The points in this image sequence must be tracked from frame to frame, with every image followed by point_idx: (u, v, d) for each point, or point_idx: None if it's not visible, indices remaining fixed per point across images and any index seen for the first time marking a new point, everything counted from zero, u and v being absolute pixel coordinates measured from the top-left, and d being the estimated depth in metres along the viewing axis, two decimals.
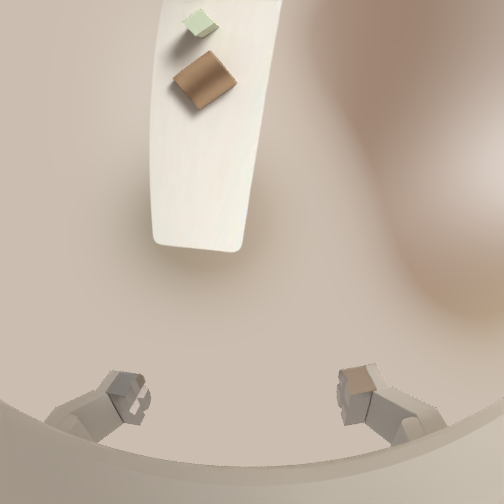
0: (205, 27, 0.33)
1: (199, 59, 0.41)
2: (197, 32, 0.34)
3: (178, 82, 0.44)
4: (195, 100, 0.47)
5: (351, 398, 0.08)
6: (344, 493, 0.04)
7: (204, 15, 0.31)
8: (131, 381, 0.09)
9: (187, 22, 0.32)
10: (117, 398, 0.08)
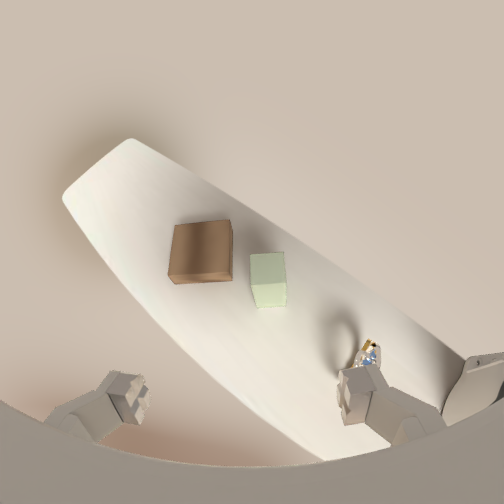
0: (252, 272, 0.31)
1: (226, 256, 0.39)
2: (252, 259, 0.32)
3: (219, 222, 0.42)
4: (186, 226, 0.42)
5: (351, 398, 0.08)
6: (344, 493, 0.04)
7: (271, 280, 0.31)
8: (131, 381, 0.09)
9: (276, 256, 0.32)
10: (117, 398, 0.08)
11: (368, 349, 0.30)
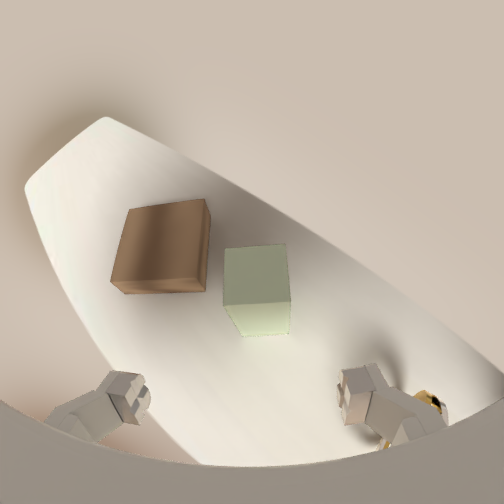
0: (227, 280, 0.17)
1: (194, 253, 0.24)
2: (229, 257, 0.18)
3: (189, 202, 0.28)
4: (143, 210, 0.28)
5: (351, 398, 0.08)
6: (344, 493, 0.04)
7: (262, 297, 0.16)
8: (131, 381, 0.09)
9: (273, 251, 0.18)
10: (117, 398, 0.08)
11: None
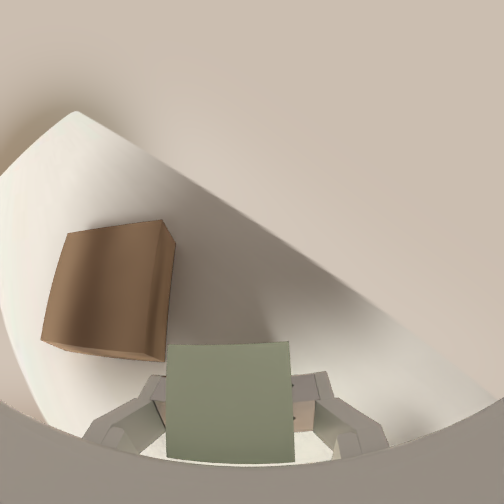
0: (172, 412, 0.07)
1: (142, 311, 0.14)
2: (175, 365, 0.08)
3: (141, 226, 0.18)
4: (83, 236, 0.18)
5: (293, 405, 0.08)
6: (344, 493, 0.04)
7: (239, 454, 0.06)
8: None
9: (262, 359, 0.08)
10: (164, 405, 0.08)
11: None
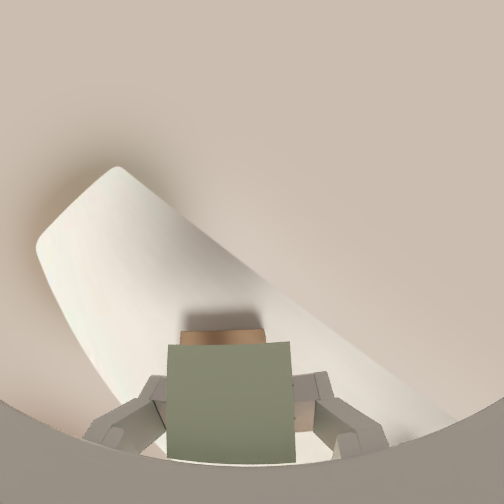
0: (173, 413, 0.07)
1: None
2: (176, 365, 0.08)
3: (248, 332, 0.27)
4: (198, 336, 0.28)
5: None
6: (344, 493, 0.04)
7: (240, 454, 0.06)
8: None
9: (263, 359, 0.08)
10: (164, 405, 0.08)
11: None
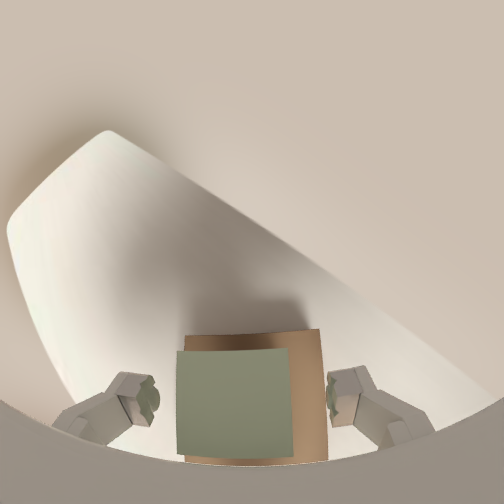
0: (182, 413, 0.08)
1: (321, 426, 0.14)
2: (184, 370, 0.09)
3: (296, 335, 0.17)
4: (214, 343, 0.17)
5: (338, 400, 0.08)
6: (344, 493, 0.04)
7: (243, 449, 0.07)
8: (141, 382, 0.09)
9: (264, 364, 0.09)
10: (127, 400, 0.08)
11: None
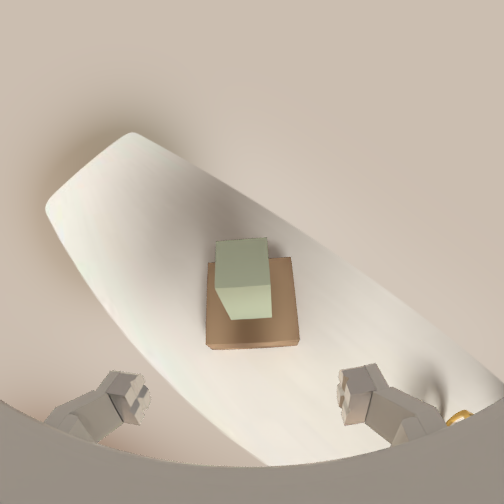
0: (218, 267, 0.20)
1: (293, 315, 0.26)
2: (219, 248, 0.21)
3: (276, 260, 0.29)
4: None
5: (351, 398, 0.08)
6: (344, 493, 0.04)
7: (247, 281, 0.19)
8: (131, 381, 0.09)
9: (256, 244, 0.21)
10: (117, 398, 0.08)
11: (460, 418, 0.18)
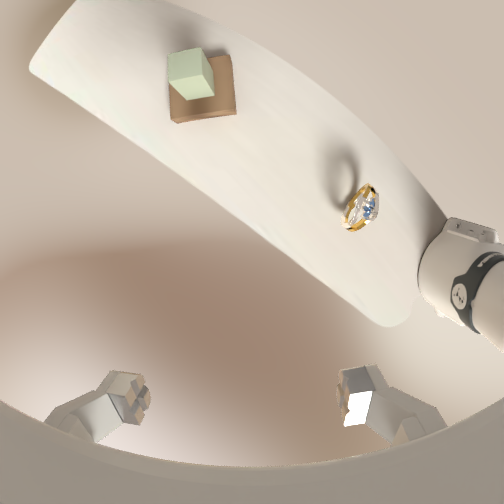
0: (169, 69, 0.25)
1: (230, 93, 0.32)
2: (170, 58, 0.24)
3: (218, 58, 0.31)
4: None
5: (351, 398, 0.08)
6: (344, 493, 0.04)
7: (187, 74, 0.25)
8: (131, 381, 0.09)
9: (193, 51, 0.24)
10: (117, 398, 0.08)
11: None
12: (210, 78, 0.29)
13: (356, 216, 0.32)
